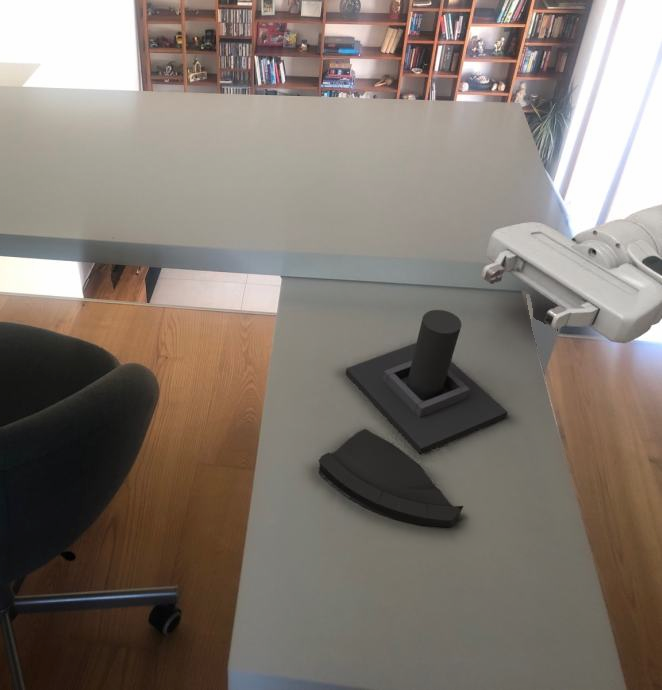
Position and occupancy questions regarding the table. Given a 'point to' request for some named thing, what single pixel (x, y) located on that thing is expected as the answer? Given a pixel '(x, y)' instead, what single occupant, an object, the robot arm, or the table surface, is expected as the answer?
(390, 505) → the dark sector wedge
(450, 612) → the table surface
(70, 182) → the table surface
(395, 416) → the base pad
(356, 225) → the table surface
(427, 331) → the dark cylindrical post
